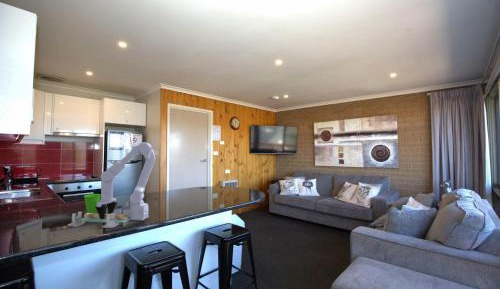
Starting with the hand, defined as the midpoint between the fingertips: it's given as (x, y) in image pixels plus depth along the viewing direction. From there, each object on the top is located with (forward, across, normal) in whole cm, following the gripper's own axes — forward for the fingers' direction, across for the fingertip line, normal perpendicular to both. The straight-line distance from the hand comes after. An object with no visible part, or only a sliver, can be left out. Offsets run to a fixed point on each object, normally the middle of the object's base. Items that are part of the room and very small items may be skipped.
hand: (106, 217), depth 138 cm
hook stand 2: (+2, +10, +9) cm, 14 cm away
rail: (+1, 0, 0) cm, 1 cm away
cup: (+2, -12, -17) cm, 21 cm away
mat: (+2, 0, 0) cm, 2 cm away
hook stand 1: (+2, +10, -9) cm, 14 cm away
